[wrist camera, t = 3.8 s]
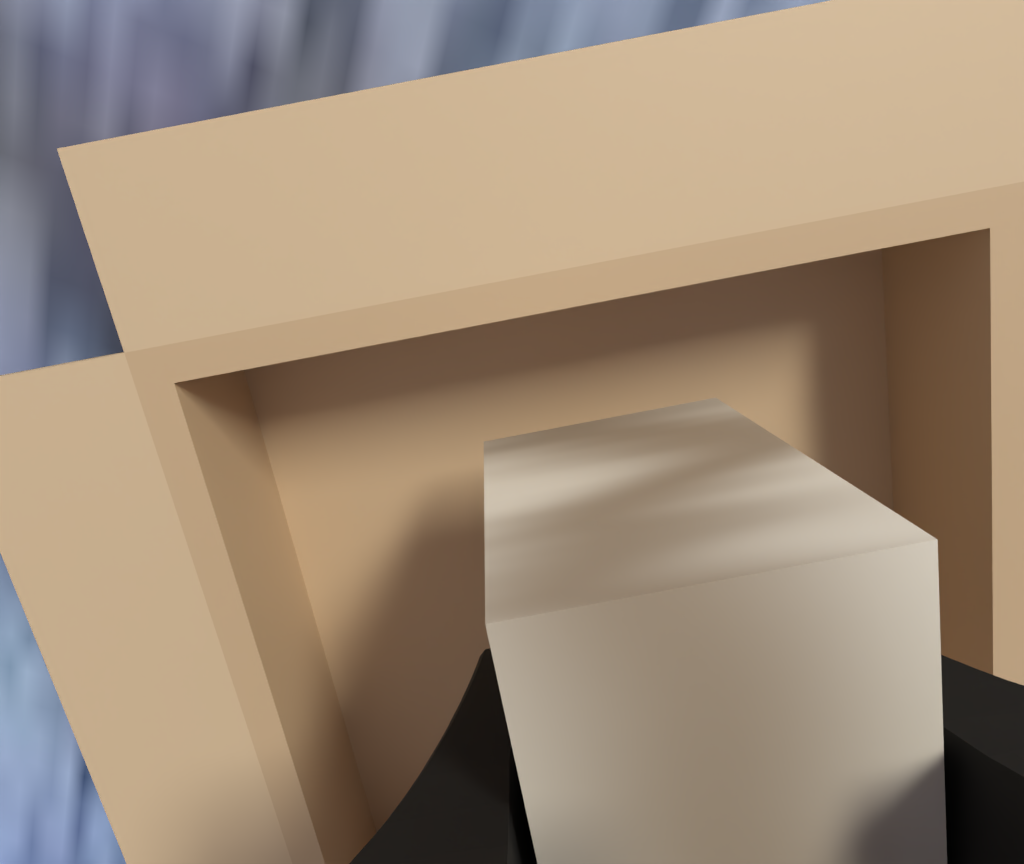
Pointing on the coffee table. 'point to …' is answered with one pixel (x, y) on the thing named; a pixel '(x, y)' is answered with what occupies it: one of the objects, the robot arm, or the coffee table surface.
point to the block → (711, 648)
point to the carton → (495, 377)
